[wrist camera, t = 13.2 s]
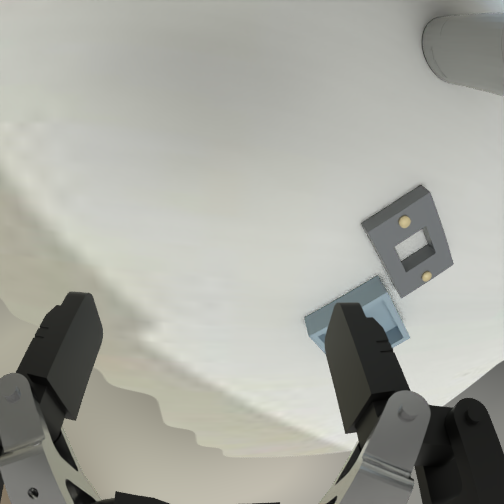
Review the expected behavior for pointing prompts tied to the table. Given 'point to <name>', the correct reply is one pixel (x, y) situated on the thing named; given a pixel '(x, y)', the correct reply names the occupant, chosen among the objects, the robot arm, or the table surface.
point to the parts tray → (372, 304)
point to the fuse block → (402, 227)
